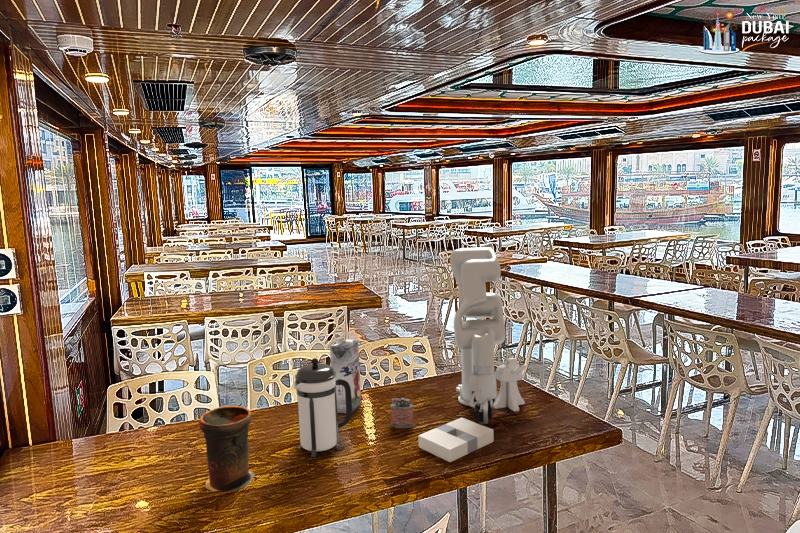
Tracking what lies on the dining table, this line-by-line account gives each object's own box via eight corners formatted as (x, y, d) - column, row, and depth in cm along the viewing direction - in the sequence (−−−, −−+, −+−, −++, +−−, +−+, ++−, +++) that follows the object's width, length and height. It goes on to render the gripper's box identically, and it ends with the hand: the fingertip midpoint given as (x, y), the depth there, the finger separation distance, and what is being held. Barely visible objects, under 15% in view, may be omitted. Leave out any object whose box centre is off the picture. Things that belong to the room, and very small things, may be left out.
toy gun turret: (484, 402, 217) (483, 356, 215) (515, 397, 221) (515, 352, 219) (498, 414, 206) (498, 366, 204) (531, 408, 210) (531, 361, 207)
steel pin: (474, 422, 199) (474, 395, 198) (483, 418, 202) (482, 391, 201) (484, 426, 196) (484, 398, 195) (492, 422, 199) (492, 395, 197)
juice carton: (330, 413, 211) (327, 343, 208) (341, 403, 221) (338, 335, 217) (353, 415, 209) (349, 344, 205) (363, 405, 219) (360, 336, 215)
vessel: (236, 462, 176) (232, 400, 173) (265, 477, 167) (261, 412, 164) (193, 482, 165) (188, 416, 162) (222, 499, 156) (217, 430, 153)
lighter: (414, 424, 200) (413, 396, 198) (413, 428, 197) (412, 400, 195) (391, 423, 201) (390, 396, 199) (390, 427, 197) (389, 400, 196)
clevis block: (450, 462, 171) (449, 449, 171) (418, 447, 182) (418, 435, 181) (493, 441, 184) (493, 429, 184) (461, 428, 195) (461, 417, 194)
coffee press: (338, 461, 175) (333, 366, 170) (288, 457, 178) (283, 364, 174) (353, 436, 191) (349, 350, 187) (308, 434, 195) (303, 348, 190)
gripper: (490, 361, 205) (491, 410, 207) (458, 372, 194) (459, 423, 197) (507, 365, 199) (507, 416, 201) (475, 377, 188) (475, 430, 191)
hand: (483, 419), depth 199 cm, fingers open, 3 cm apart
